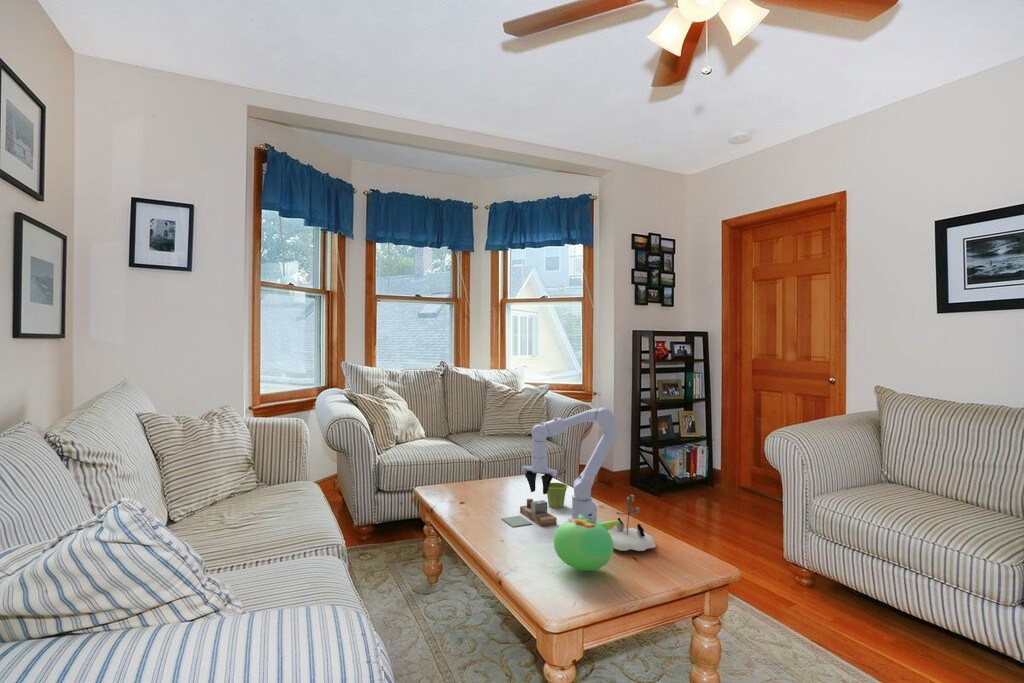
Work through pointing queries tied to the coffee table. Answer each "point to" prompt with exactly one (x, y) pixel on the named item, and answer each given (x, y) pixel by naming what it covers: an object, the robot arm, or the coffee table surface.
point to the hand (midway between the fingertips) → (539, 492)
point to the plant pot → (556, 494)
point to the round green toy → (584, 543)
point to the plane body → (538, 515)
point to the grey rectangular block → (539, 507)
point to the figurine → (630, 534)
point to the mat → (516, 521)
